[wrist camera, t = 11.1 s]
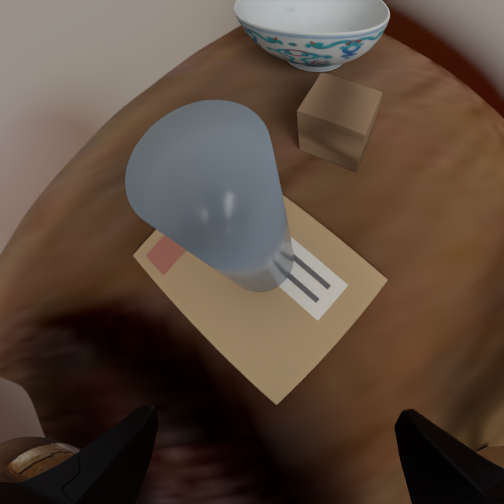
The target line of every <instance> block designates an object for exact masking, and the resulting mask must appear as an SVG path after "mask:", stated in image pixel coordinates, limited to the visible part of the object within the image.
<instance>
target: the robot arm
mask: <svg viewBox="0 0 504 504" xmlns="http://www.w3.org/2000/svg"><path fill="white" fill-rule="evenodd" d="M157 428H158V418H157V413H156V409H155V407H154V406H151V405H146V404H144V405H142V406H140V407H139V408H138V409H136V410H135V411H134V412H132V413H131V414H130V415H128V416H127V417H126V418H124V419H123V420H122V421H120V422H119V423H118V424H116V425H115V426H113V427H112V428H111V429H109V430H108V431H107V432H105V433H104V434H103V435H101V436H100V437H98V438H97V439H96V440H94V441H93V442H91V443H90V444H88V445H87V446H86V447H84V448H83V449H81V450H80V451H79V452H78V453H75V454H74V455H73V456H71V457H70V458H68V459H66V460H65V461H63V462H62V463H60V464H58V465H56V466H54V467H52V468H51V469H49V470H47V471H44V472H42V473H40V474H38V475H36V476H34V477H32V478H29V479H27V480H25V481H21V482H1V481H0V504H135V503H136V500H137V497H138V494H139V491H140V489H141V486H142V483H143V480H144V477H145V474H146V472H147V469H148V466H149V463H150V460H151V456H152V451H153V447H154V442H155V437H156V433H157ZM395 433H396V439H397V445H398V450H399V456H400V461H401V465H402V469H403V472H404V476H405V479H406V483H407V487H408V490H409V494H410V498H411V502H412V504H504V468H502V467H500V466H498V465H496V464H494V463H493V462H491V461H489V460H487V459H486V458H484V457H482V456H481V455H479V454H478V453H476V452H475V451H473V450H472V449H470V448H469V447H467V446H466V445H464V444H463V443H461V442H460V441H458V440H457V439H455V438H454V437H452V436H451V435H449V434H448V433H447V432H445V431H444V430H442V429H441V428H439V427H438V426H436V425H435V424H434V423H432V422H431V421H429V420H428V419H426V418H425V417H424V416H422V415H421V414H419V413H418V412H417V411H415V410H414V409H407V410H403V411H402V412H401V414H400V416H399V418H398V420H397V422H396V424H395Z"/></svg>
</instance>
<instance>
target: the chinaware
mask: <svg viewBox="0 0 504 504" xmlns="http://www.w3.org/2000/svg"><path fill="white" fill-rule="evenodd" d="M234 13H235V15H236V17H237V19H238V21H239V22H240V24H241V25H242V27H243V28H244V30H245V31H246V32H247V34H248V35H249V36H250V37H251V38H252V39H253V40H254V41H255V42H256V43H257V44H258V45H259V46H260V47H262V48H263V49H264V50H266V51H267V52H269V53H270V54H272V55H274V56H276V57H278V58H280V59H282V60H285V61H287V62H288V63H289V64H291V65H292V66H294V67H296V68H298V69H301V70H305V71H311V72H325V71H330V70H333V69H336V68H338V67H339V66H341V65H342V64H343V63H346V62H349V61H351V60H354V59H356V58H358V57H359V56H361V55H363V54H364V53H366V52H367V51H368V50H369V49H370V48H372V47H373V46H374V44H375V43H376V42H377V41H378V40H379V38H380V37H381V35H382V34H383V32H384V30H385V28H386V26H387V24H388V21H389V18H390V12H389V9H388V7H387V6H386V4H385V3H384V2H383V1H382V0H237V1H236V2H235V4H234Z"/></svg>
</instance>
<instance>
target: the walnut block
mask: <svg viewBox="0 0 504 504" xmlns="http://www.w3.org/2000/svg"><path fill="white" fill-rule="evenodd" d="M381 96H382V92H380V91H378V90H375V89H372V88H370V87H367V86H364V85H361V84H358V83H355V82H352V81H349V80H346V79H343V78H340V77H337V76H333V75H330V74H326V73H323V72H322V73H321V74H320V76H319V77H318V79H317V80H316V82H315V83H314V85H313V86H312V88H311V90H310V91H309V93H308V94H307V96H306V97H305V99H304V100H303V102H302V104H301V105H300V107H299V108H298V110H297V120H298V134H299V150H300V151H303V152H306V153H308V154H311V155H314V156H316V157H319V158H321V159H324V160H327V161H329V162H332V163H334V164H337V165H339V166H341V167H344V168H346V169H349V170H351V171H353V172H356V171H357V169H358V166H359V164H360V161H361V159H362V157H363V154H364V152H365V149H366V147H367V144H368V142H369V139H370V137H371V134H372V132H373V128H374V125H375V121H376V117H377V113H378V109H379V105H380V101H381Z"/></svg>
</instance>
